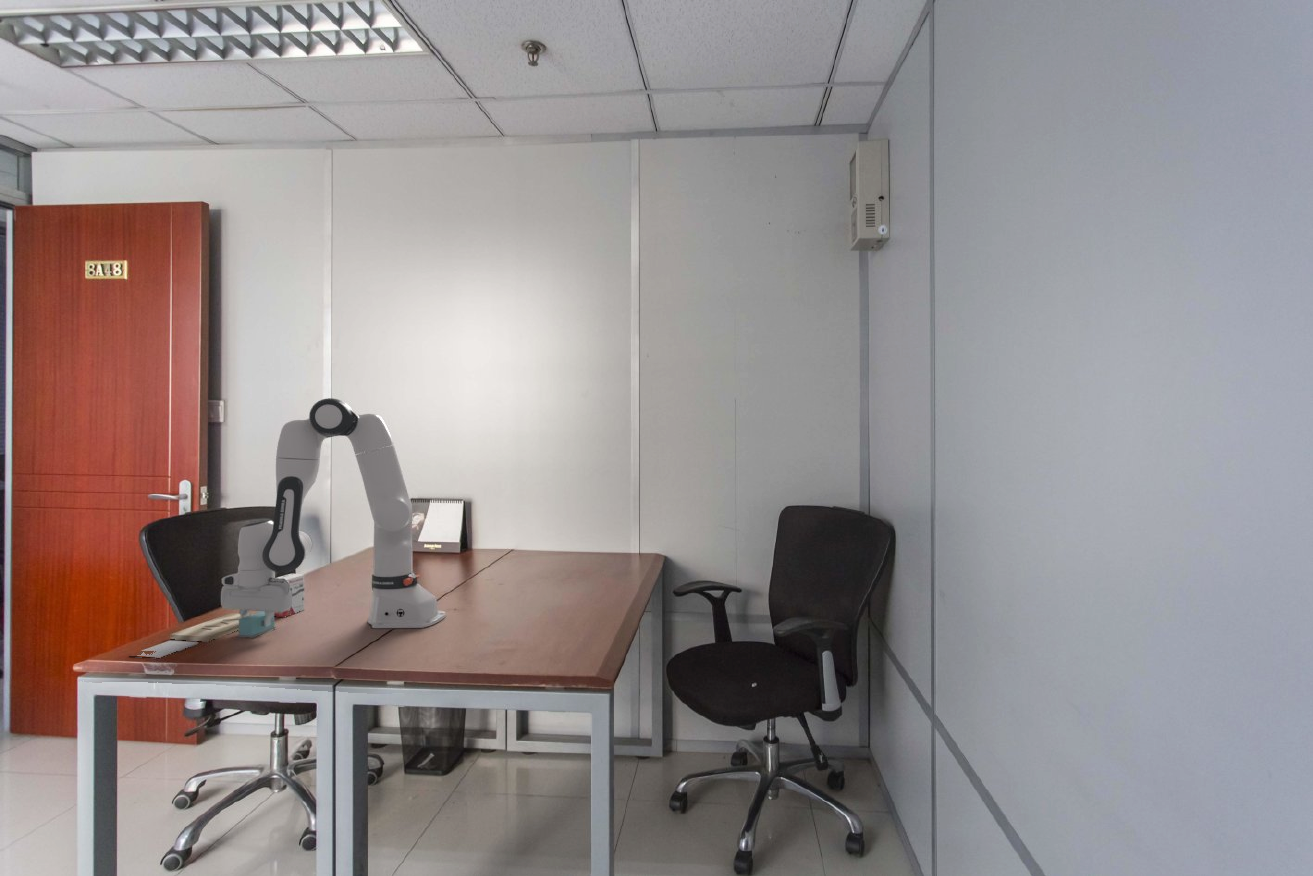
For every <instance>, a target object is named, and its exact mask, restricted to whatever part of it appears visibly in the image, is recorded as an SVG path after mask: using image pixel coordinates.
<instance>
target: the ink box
mask: <svg viewBox="0 0 1313 876" xmlns="http://www.w3.org/2000/svg"><path fill="white" fill-rule="evenodd" d="M305 576H306V575H305V574H300V573H289V574H285V575H282V576H278V577H276V578H278V579H280V578H283V579H285V580H286V581H288V582H289V583H290V590H291V596H292V607H291V608H290V609H289V610H287V611H284V612H275V613H274V616H276V617H275V618H286V617H285V616H287V617H289V616H288V615H290V614H292V615H295V614H298V613H300V612H299V611H301V612H303V611H305V583H306V582H305V578H306V577H305ZM302 610H303V611H302ZM297 612H298V613H297ZM294 613H295V614H294ZM290 616H291V615H290Z"/></svg>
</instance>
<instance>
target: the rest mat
mask: <svg viewBox="0 0 1313 876" xmlns="http://www.w3.org/2000/svg"><path fill="white" fill-rule="evenodd" d="M198 644H199V642H197V641H182V640H170V639H169V640H167V641H165V642H162V643H158V644H156V645H153V646H151V647H148V648H145V649H142V650H141V651H154V652H155V651H156V652H155V653H154V652H153V654H152V653H151V654H152V655H151V654H150V655H149V654H147V655H146V654H145V653H144V652H143V653H142V654H141V655H137V656H146V657H155V658H154V659H156V658H160V659H162V658H161V657H163V656H165V657H167V656H166V655H168V654H170V655H172V654H171V653H173V652H176V651H178V652H181V651H183V650H185V648H186V649H188V647H189V648H191V647H193V646H196V645H198ZM176 653H177V652H176ZM173 654H174V653H173ZM168 656H169V655H168ZM163 658H164V657H163Z"/></svg>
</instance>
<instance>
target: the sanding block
mask: <svg viewBox="0 0 1313 876" xmlns="http://www.w3.org/2000/svg"><path fill="white" fill-rule="evenodd" d="M251 614H252V615H249V616H246V617H243V618H240V619H239V630H238V634H237V638H245V637H250V638H249V639H254V638H257V637H259V636H262V635H264V634H266V632H267V633H269V632H268V631H270V630H272V629H275V628H277V626H275V617H274V615H273V617H272V618H271V625H270V626H267V627H265V626H262V625H261V624H262V623H261V621H262V620H264V619H265V617H266V615H265V611H257V612H256V613H251ZM275 630H276V629H275ZM272 631H273V630H272ZM270 632H271V631H270ZM263 633H264V634H263ZM261 634H262V635H261ZM258 635H259V636H258ZM256 636H257V637H256ZM253 637H254V638H253Z"/></svg>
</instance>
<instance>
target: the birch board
mask: <svg viewBox="0 0 1313 876" xmlns="http://www.w3.org/2000/svg"><path fill="white" fill-rule="evenodd" d="M248 614H249V615H252V614H253V613H248ZM240 618H242V617H241V616H240V614H239V612H238V613H236V612H230V613H227V614H224V615H222V616H221V615H220V616H219V617H215V618H213V619H209V620H206V621H204V622H201V623H198V624H196V625H192V626H190V627H186V628H183V629H181V630H178V631H176V632H173V633H170V634H169V640H170V639H175V640H174V641H182V640H186V642H197V641H202V642H201V643H209V641H210V642H212V641H214V640H213V639H215V640H217V639H219V638H222V636H223V637H225V636H227V634H228V635H230V634H233V633H235V632H237V630H238V631H239V619H240ZM234 631H235V632H234ZM232 632H233V633H232ZM211 640H212V641H211Z"/></svg>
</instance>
